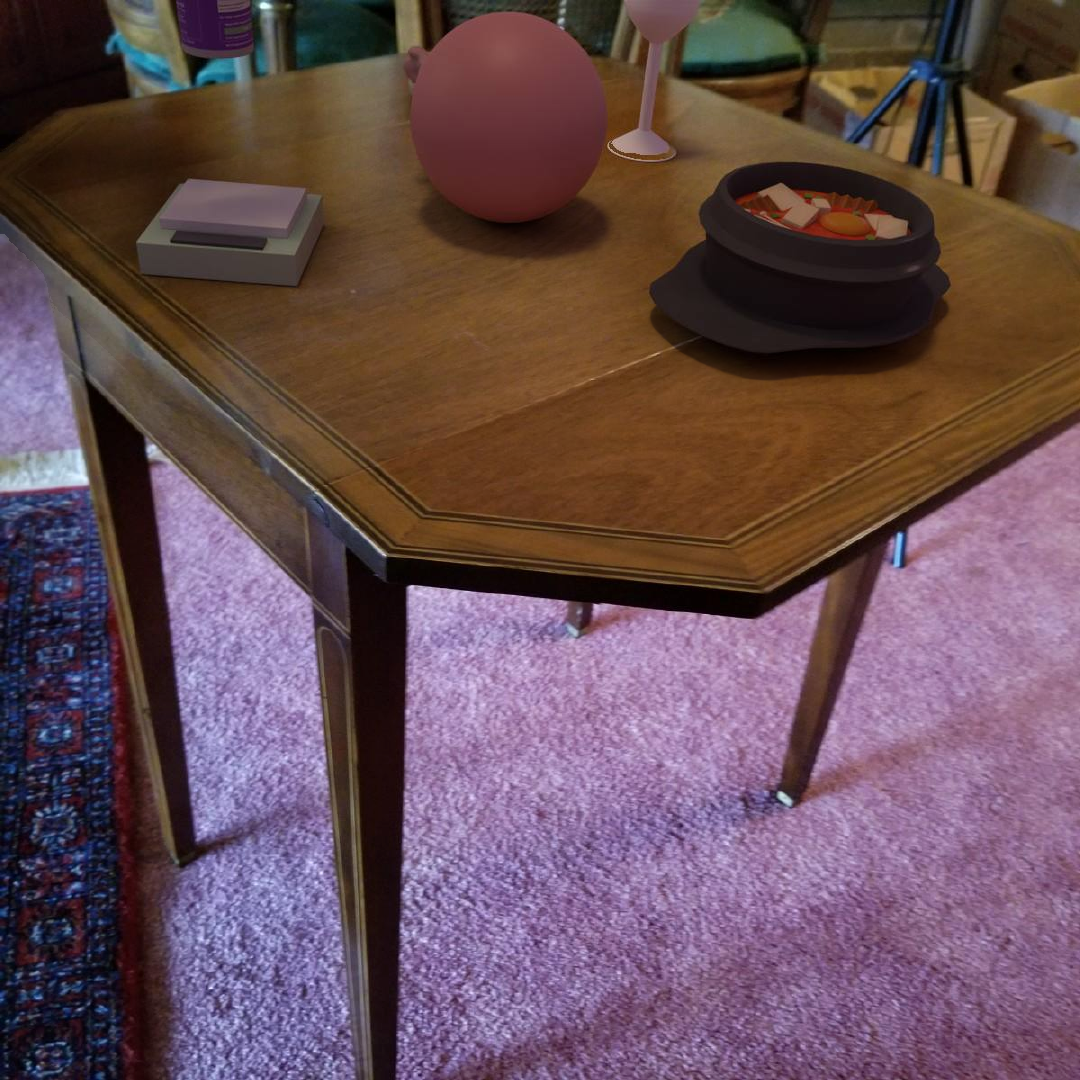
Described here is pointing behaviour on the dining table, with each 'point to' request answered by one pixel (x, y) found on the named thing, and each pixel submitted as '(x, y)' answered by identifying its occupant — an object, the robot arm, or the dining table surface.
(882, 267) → the casserole
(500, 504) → the dining table surface
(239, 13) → the container
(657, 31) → the champagne flute
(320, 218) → the scale
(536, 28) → the balloon
